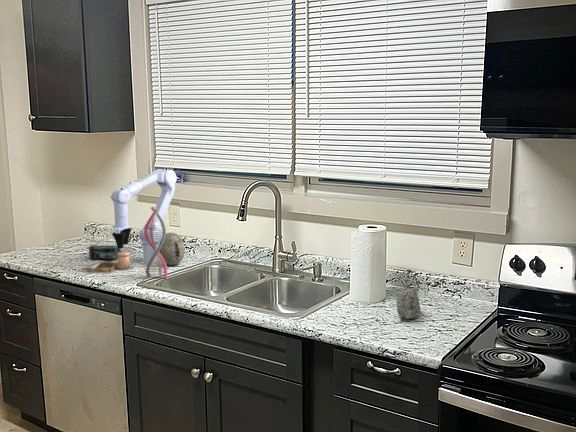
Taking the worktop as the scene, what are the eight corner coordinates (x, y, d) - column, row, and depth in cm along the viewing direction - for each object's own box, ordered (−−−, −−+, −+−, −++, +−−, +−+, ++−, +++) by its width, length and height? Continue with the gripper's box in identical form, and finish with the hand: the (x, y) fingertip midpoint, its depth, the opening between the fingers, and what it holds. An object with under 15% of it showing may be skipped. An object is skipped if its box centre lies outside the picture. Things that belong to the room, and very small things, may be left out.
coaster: (135, 267, 284) (135, 266, 284) (131, 271, 278) (131, 270, 278) (121, 267, 285) (121, 266, 285) (116, 271, 278) (116, 269, 278)
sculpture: (122, 247, 307) (90, 253, 305) (118, 236, 302) (86, 242, 300) (122, 264, 298) (90, 270, 296) (119, 252, 293) (86, 259, 291)
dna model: (162, 281, 261) (160, 209, 256) (142, 280, 263) (139, 209, 258) (170, 275, 270) (168, 206, 265) (151, 274, 272) (148, 206, 267)
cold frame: (120, 266, 287) (120, 260, 286) (111, 273, 274) (110, 267, 274) (96, 265, 287) (96, 260, 287) (86, 273, 275) (86, 267, 274)
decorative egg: (167, 269, 281) (165, 236, 278) (154, 264, 290) (153, 232, 287) (189, 265, 288) (188, 233, 286) (177, 260, 297) (175, 229, 295)
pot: (132, 266, 283) (131, 251, 282) (128, 269, 278) (128, 254, 277) (120, 266, 284) (119, 251, 283) (116, 269, 278) (115, 254, 277)
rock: (410, 305, 227) (408, 281, 224) (431, 309, 222) (429, 284, 219) (390, 323, 215) (387, 298, 213) (411, 328, 210) (409, 301, 208)
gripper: (117, 213, 287) (118, 242, 289) (107, 219, 273) (108, 249, 275) (132, 213, 287) (134, 242, 289) (123, 219, 273) (124, 249, 275)
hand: (122, 246), depth 282 cm, fingers open, 7 cm apart
